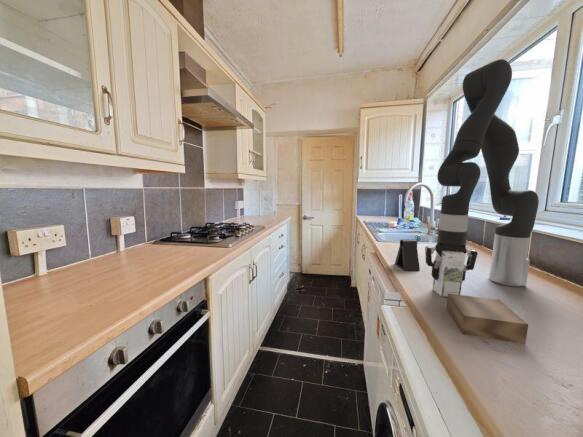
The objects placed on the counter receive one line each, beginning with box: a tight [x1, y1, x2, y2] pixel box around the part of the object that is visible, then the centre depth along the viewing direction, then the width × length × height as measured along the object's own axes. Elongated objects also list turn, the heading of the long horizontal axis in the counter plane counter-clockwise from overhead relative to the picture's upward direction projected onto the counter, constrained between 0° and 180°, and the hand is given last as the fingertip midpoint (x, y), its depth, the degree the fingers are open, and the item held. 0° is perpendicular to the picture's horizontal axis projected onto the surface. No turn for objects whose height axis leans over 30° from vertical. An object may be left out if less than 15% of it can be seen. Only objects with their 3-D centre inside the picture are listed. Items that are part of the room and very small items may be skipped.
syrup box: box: [432, 251, 466, 298], centre depth 77 cm, size 6×6×14 cm
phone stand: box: [394, 239, 421, 272], centre depth 102 cm, size 9×6×12 cm, turn 4°
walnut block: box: [445, 294, 529, 345], centre depth 61 cm, size 12×12×5 cm
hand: (447, 280), depth 77 cm, fingers closed on syrup box, 6 cm apart
